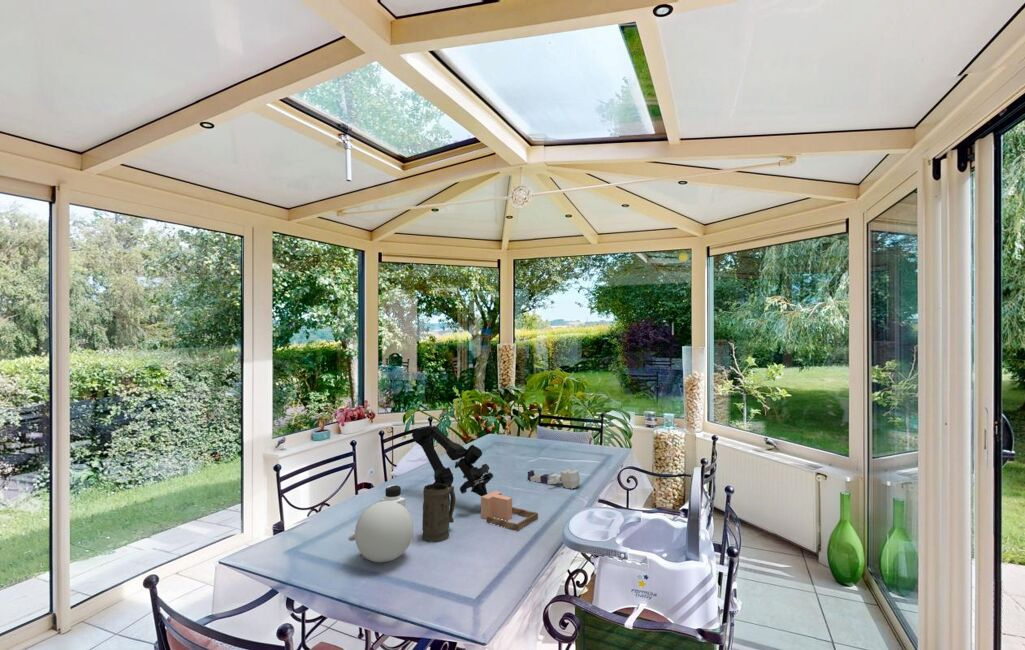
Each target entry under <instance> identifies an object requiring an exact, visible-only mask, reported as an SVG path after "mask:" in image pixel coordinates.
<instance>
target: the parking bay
mask: <svg viewBox="0 0 1025 650" xmlns="http://www.w3.org/2000/svg"><path fill="white" fill-rule="evenodd" d="M513 513H514V515H517V514H518V515H517V516H521V515H522V516H521V517H525V516H526V517H525V519H523V520H521V521H519V522H518V523H515V522H512V521H510V520H509V521H505V520H501V519H498V518H494V517H490V516H487V517H486V519H485V520H486V522H488V523H487V524H490V523H492V524H491V525H493V524H495V525H494V526H497V525H499V526H498V527H501V526H502V527H501V528H504V527H505V528H504V529H508V528H509V530H511V529H512V531H515V530H516V531H515V532H518V530H519V531H521V530H522V529H524V528H526V527H527V526H529V525H530V524H531V523H532V524H533V522H535V521H537V520H538V519H539V513H538V512H535V511H531V510H527V509H524V508H518V507H514V506H512V514H513ZM523 527H524V528H523ZM520 529H521V530H520Z"/></svg>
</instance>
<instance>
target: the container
mask: <svg viewBox="0 0 1025 650" xmlns="http://www.w3.org/2000/svg"><path fill="white" fill-rule="evenodd" d="M401 489H402V487H401V486H399V485H396V484H395V485H394V484H392V485H388V486H386V487H385V492H384V493H385V495H384V496H385V497H384V498H381V499H380V502H383V501H392V502H396V503H399V504H401V505H403V506H404V507H405V508H406V498H404V497H401V495H402V493H401V491H402V490H401Z"/></svg>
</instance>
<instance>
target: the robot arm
mask: <svg viewBox="0 0 1025 650" xmlns="http://www.w3.org/2000/svg"><path fill="white" fill-rule="evenodd" d="M411 437H412V438H413V440H414V441H415V443H416V444H418V445H419V446H420V447H421V448H422V450H423V452H424V454H425V456H426V458H427V460H428V462H429V464H430V466H431V468H432V470H433V472H434V473H433V475H434V476H433V480H434V482H433V483H432V484H445V485H447V486H448V489H449V487H450V486H453V482H454V480H455V478H454V476H453V475H454V474H453V472H452V471H451V468H450V467H445V466H444V465H443V463H442V460H441V459H440V456H439V455H438V453H437V451H436V449H435V447H434V446H433V443H432V442H431V439H432V438H433V440H435V441H436V442H437V443H438V444H439V445H440V446H441V447H442V448H443V449H444V450H445V453H446V455H447V456H448V458H449V459H450V460H451V461H456V462H455V464H454V469H457V468H459V469H460V471H461V472H462V474H463V476H462V477H463V479H466V480H467V481H466V480H465V482H464V483H462V485H460V487H459V491H460V493H461V495H463V494H466V493H467V491H468V489H469V488H471V489H470V492H471V493H474V494H476V495H478V496H479V497H482V496H484V495H486V494H488V491H487V486H486V485H487V484H488V483H489V482H490V481H491V480H492V479H493V478H494V474H493V473H492V472H489V470H490V467H489V465H488V464H487V463H485V464H481V467H479V468H478V467H477V466H474V464H475V463H476V462H478V460H479V459H480V458H481V457H482V456H483V452H482V449H480V448H479V447H477V446H475V445H474V444H470V445H469V447H468V448H465V447H464V446H463V445H461V444H459V443H457V442H454V441H453V440H451V439H450V437H448V436H447V435H446V434H445V433H443V432H442V431H441V429H439V427H438V426H437V425H432V426H428V427H427V426H422V427H416V428H413V430H412V433H411ZM448 501H449V502H450V494H448Z"/></svg>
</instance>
